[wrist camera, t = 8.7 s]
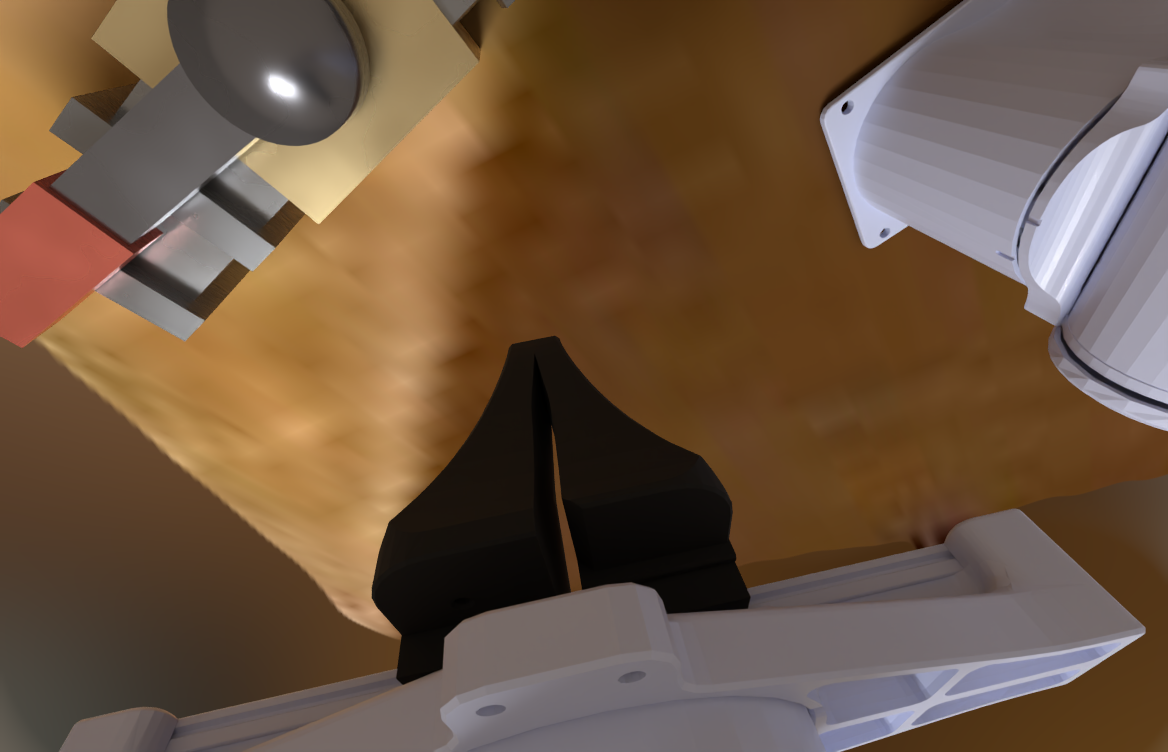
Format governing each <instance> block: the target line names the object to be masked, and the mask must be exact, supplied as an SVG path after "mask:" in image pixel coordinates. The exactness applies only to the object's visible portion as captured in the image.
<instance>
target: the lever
mask: <svg viewBox="0 0 1168 752" xmlns="http://www.w3.org/2000/svg"><path fill="white" fill-rule="evenodd" d="M167 21H168V28H169V34H170V38H171V41H172V45H173V48H174V50H175V53H176V55H177V58H178V60H179V62H180V63H179V64H178V65H177V66H176V67H175V68H174V69H173V70H172V71H171V72H170V73H169V74H168V75H167V76H166V77H165V78H163V79H162V80H161V81H160V82H159V83H158V84H157V85H156V86H155V87H154V88H153V89H152V90H151V91H150V92H149V93H148V94H147V95H145V96H144V97H143V98H142V99H141V100H140V101H139V102H138V103H137V104H136V105H135V106H134V107H133V108H132V109H131V110H130V111H129V112H128V113H126V114H125V115H124V116H123V117H122V118H121V119H120V120H119V121H118V122H117V123H116V124H115V125H114V126H113V127H112V128H111V129H110V130H108V131H107V132H106V133H105V134H104V135H103V136H102V137H101V138H100V139H99V140H98V141H97V142H96V143H95V144H94V145H93V146H92V147H91V148H89V149H88V150H87V151H86V152H85V153H84V154H83V155H82V156H81V157H80V158H79V159H78V160H77V161H76V162H75V163H74V164H73V165H72V166H70V167H69V168H68V169H67V170H64V171H62V172H59V173H56V174H54V175H51V176H49V177H46V178H43V179H41V180H38V181H36V182H33V183H32V184H31V185H30V186H29V187H28V188H27V189H26V190H25V191H24V192H23V193H22V194H21V195H20V196H19V197H18V198H17V199H16V200H15V201H13V202H12V203H11V204H10V205H9V206H8V207H7V208H6V209H5V210H4V211H3V212H2V213H1V214H0V336H1V337H3V338H4V339H6V340H8V341H10V342H12V343H14V344H16V345H18V346H20V347H22V348H23V347H24V346H26V345H27V344H28V343H30V342H31V341H33V340H34V339H35V338H37V337H38V336H39V335H41V334H42V333H43V332H45V331H46V330H48V329H49V328H50V327H52V326H53V325H54V324H56V323H57V322H58V321H60V320H61V319H62V318H63V317H64V316H66V315H67V314H68V313H69V312H70V311H72V310H73V309H74V308H75V307H76V306H78V305H79V304H80V303H81V302H82V301H84V300H85V299H86V298H87V297H88V296H89V295H91V294H92V293H93V292H94V291H95V290H97V289H98V288H99V287H100V286H101V285H103V284H104V283H105V282H106V281H107V280H108V279H110V278H111V277H112V276H113V275H114V274H116V273H117V272H118V271H119V270H120V269H122V268H123V267H124V266H125V265H126V264H128V263H129V262H130V261H131V260H132V259H133V258H135V257H136V256H137V255H138V254H139V253H141V252H142V251H143V250H144V249H145V248H147V247H148V246H149V245H150V244H151V243H152V242H154V241H155V240H156V239H157V238H158V237H160V236H161V235H162V234H163V232H162V231H160V230H159V229H158V228H157V226H158V225H159V224H161V223H162V222H163V221H164V220H165V219H166V218H168V217H169V216H170V215H171V214H172V213H174V212H175V211H176V210H177V209H178V208H179V207H181V206H182V205H183V204H184V203H185V202H186V201H188V200H189V199H190V198H191V197H192V196H194V195H195V194H196V193H197V192H198V191H199V190H201V189H202V188H203V187H204V186H205V185H207V184H208V183H209V182H210V181H211V180H212V179H214V178H215V177H216V176H217V175H218V174H219V173H221V172H222V171H223V170H224V169H225V168H227V167H228V166H229V165H230V164H231V163H232V162H234V161H235V160H236V159H237V158H238V157H239V156H241V155H242V154H243V153H244V152H245V151H247V150H248V149H249V148H250V147H251V146H252V145H254V144H255V143H256V142H257V141H258V140H260V139H261V140H264V141H267V142H271V143H274V144H279V145H286V146H303V145H310V144H313V143H317V142H320V141H322V140H324V139H326V138H328V137H329V136H330V135H332V134H333V133H335V132H336V131H337V130H338V129H340V128H341V127H342V126H343V125H344V124H346V123H347V122H348V121H349V120H350V119H351V118H353V117H354V116H355V115H356V113H357V112H358V111H359V109H360V108H361V106H362V104H363V102H364V100H365V98H366V95H367V92H368V87H369V79H370V67H369V58H368V53H367V49H366V46H365V42H364V39H363V37H362V34H361V32H360V29H359V27H358V25H357V23H356V22H355V20H354V18H353V16H352V15H351V13H350V12H349V10H348V9H347V7H346V6H345V4H344V3H343V2H342V1H341V0H168V4H167Z"/></svg>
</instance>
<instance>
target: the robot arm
mask: <svg viewBox="0 0 1168 752" xmlns="http://www.w3.org/2000/svg"><path fill="white" fill-rule="evenodd" d="M846 101H848V106H847V109H846V110H845V111H844V112H842V111H841V109H842V106H843V104H844V103H845V102H846ZM820 122H821V126H822V129H823V131H824V134H825V137H826V140H827V143H828V146H829V149H830V152H831V155H832V158H833V161H834V163H835V166H836V169H837V172H838V175H839V178H840V181H841V184H842V187H843V190H844V193H845V195H846V198H847V201H848V204H849V207H850V210H851V213H852V216H853V219H854V222H855V225H856V228H857V230H858V233H859V236H860V239H861V242H862V244H863V245H864V246H866V247H868V248H874V247H876V246H878V245H879V244H881V243H883V242H884V241H886V240H887V239H889V238H890V237H892V236H893V235H895V234H896V233H898V232H899V231H901V230H902V229H904V228H905V227H907V226H908V225H909V226H911V227H913V228H915V229H917V230H919V231H921V232H923V233H925V234H926V235H928V236H930V237H932V238H934V239H936V240H938V241H940V242H942V243H944V244H946V245H948V246H950V247H952V248H954V249H956V250H958V251H960V252H962V253H963V254H965V255H967V256H969V257H971V258H973V259H975V260H977V261H979V262H981V263H983V264H985V265H987V266H989V267H991V268H993V269H995V270H997V271H999V272H1000V273H1002V274H1004V275H1006V276H1008V277H1010V278H1012V279H1014V280H1016V281H1018V282H1020V283H1022V284H1024V285H1026V286H1027V287H1028V298H1027V300H1026V303H1025V306H1024V309H1026V310H1028V311H1030V312H1031V313H1033V314H1035V315H1037V316H1039V317H1040V318H1042V319H1044V320H1046V321H1047V322H1049V323H1051V324H1053V325H1055V327H1054V329H1053V330H1052V332H1051V335H1050V337H1049V343H1048V350H1049V354H1050V357H1051V360H1052V361H1053V363H1054V364H1055V366H1056V367H1057V369H1058V370H1059V371H1060V372H1061V373H1062V374H1063V375H1064V376H1065V377H1066V378H1067V379H1068V380H1069V381H1070V382H1071V383H1072V384H1074V385H1075V386H1076V387H1077V388H1079V389H1080V390H1081V391H1083V392H1084V393H1086V394H1087V395H1089V396H1091V397H1092V398H1094V399H1095V400H1097V401H1098V402H1100V403H1101V404H1103V405H1105V406H1106V407H1108V408H1110V409H1112V410H1114V411H1116V412H1118V413H1120V414H1122V415H1124V416H1127V417H1129V418H1131V419H1134V420H1136V421H1139V422H1142V423H1144V424H1147V425H1150V426H1153V427H1156V428H1159V429H1162V430H1166V431H1168V0H963V1H962V2H961V3H959V4H958V5H957V6H956V7H954V8H953V9H952V10H950V11H949V12H948V13H946V14H945V15H944V16H942V17H941V18H940V19H939V20H937V21H936V22H935V23H933V24H932V25H931V26H929V27H928V28H927V29H925V30H924V31H923V32H922V33H920V34H919V35H918V36H916V37H915V38H914V39H912V40H911V41H910V42H908V43H907V44H906V45H905V46H903V47H902V48H901V49H899V50H898V51H897V52H895V53H894V54H893V55H891V56H890V57H889V58H888V59H886V60H885V61H884V62H882V63H881V64H880V65H878V66H877V67H876V68H874V69H873V70H872V71H871V72H869V73H868V74H867V75H865V76H864V77H863V78H861V79H860V80H859V81H857V82H856V83H855V84H854V85H852V86H851V87H850V88H848V89H847V90H846V91H844V92H843V93H842V94H840V95H839V96H838V97H837V98H835V99H834V100H833V101H831V102H830V103H829V104H828V105H827V106H826V107H825V108H824V109H823V111H822V113H821V116H820ZM883 229H885V230H884V232H883V233H881V231H882V230H883ZM880 233H881V234H880ZM551 425H552V428H553V432H554V436H555V442H556V450H557V458H558V466H559V475H560V485H561V495H562V501H563V505H564V509H565V513H566V517H567V521H568V525H569V529H570V533H571V537H572V541H573V545H574V549H575V553H576V557H577V561H578V567H579V573H580V579H581V585H582V590H580V591H576V592H572V593H571V589H570V584H569V578H568V572H567V566H566V560H565V553H564V547H563V541H562V535H561V529H560V523H559V516H558V510H557V504H556V494H555V481H554V463H553V445H552V428H551ZM732 513H733V511H732V502H731V500H730V498H729V496H728V494H727V492H726V490H725V488H724V487H723V485H722V484H721V482H720V481H719V479H718V478H717V476H716V475H715V473H714V472H713V471H712V469H711V468H710V467H709V465H708V464H707V463H706V462H705V460H704V459H703V458H702V457H701V456H700V455H697V454H695V453H693V452H691V451H688V450H686V449H684V448H682V447H679V446H677V445H675V444H673V443H670V442H668V441H667V440H665V439H663V438H661V437H659V436H658V435H656V434H654V433H653V432H651V431H650V430H648V429H646V428H645V427H643V426H642V425H640V424H639V423H637V422H636V421H634V420H633V419H631V418H630V417H628V416H627V415H626V414H625V413H623V412H622V411H621V410H619V409H618V408H617V407H616V406H615V405H613V404H612V403H611V402H610V401H609V400H608V399H606V398H605V397H604V396H603V395H602V394H601V393H600V392H599V391H598V390H597V389H596V388H595V387H594V386H593V385H592V384H591V383H590V382H589V381H588V379H587V378H586V377H585V376H584V375H583V374H582V372H581V371H580V370H579V369H578V368H577V366H576V365H575V364H574V362H573V361H572V360H571V358H570V357H569V355H568V354H567V352H566V351H565V349H564V348H563V346H562V344H561V342H560V339H559V338H558V337H556V336H551V337H546V338H541V339H536V340H531V341H526V342H521V343H515V344H512V345H511V346H510V348H509V350H508V355H507V358H506V361H505V364H504V367H503V370H502V373H501V375H500V378H499V380H498V383H497V385H496V387H495V390H494V392H493V394H492V396H491V398H490V400H489V402H488V404H487V406H486V408H485V410H484V412H483V414H482V416H481V417H480V419H479V421H478V423H477V424H476V426H475V428H474V429H473V431H472V432H471V434H470V435H469V437H468V438H467V440H466V441H465V443H464V444H463V445H462V447H461V448H460V449H459V451H458V452H457V454H456V455H455V456H454V458H453V459H452V460H451V461H450V463H449V464H448V465H447V466H446V467H445V469H444V470H443V471H442V472H441V473H440V474H439V475H438V476H437V477H436V478H435V480H434V481H433V482H432V483H431V484H430V485H429V486H428V487H427V488H426V489H425V490H424V491H423V492H422V493H421V494H420V495H419V496H418V497H417V498H416V499H414V500H413V501H412V502H411V503H410V504H409V505H408V506H407V507H406V508H404V509H403V510H402V511H401V512H400V513H399V514H398V515H397V516H396V517H394V518H393V519H392V520H391V521H390V522H389V523H388V527H387V530H386V533H385V536H384V538H383V541H382V544H381V548H380V551H379V555H378V560H377V565H376V570H375V575H374V580H373V585H372V599H373V601H374V603H375V605H376V606H377V608H378V609H379V610H380V611H381V612H382V613H383V615H384V616H385V617H386V618H387V619H388V620H389V621H390V622H391V623H392V625H393V626H394V627H395V628H396V629H397V630H398V631H399V632H400V634H401V635H402V637H401V645H400V652H399V660H398V667H397V669H394V670H390V671H386V672H381V673H376V674H372V675H368V676H363V677H359V678H355V679H350V680H346V681H342V682H337V683H333V684H328V685H324V686H320V687H316V688H311V689H307V690H303V691H298V692H294V693H289V694H285V695H281V696H276V697H272V698H267V699H263V700H259V701H254V702H250V703H245V704H241V705H237V706H233V707H228V708H224V709H219V710H215V711H210V712H206V713H202V714H197V715H193V716H189V717H184V718H180V719H177V718H176V717H175V716H174V715H173V714H171V713H169V712H167V711H165V710H163V709H159V708H155V707H139V708H132V709H128V710H123V711H119V712H114V713H110V714H105V715H101V716H97V717H92V718H88V719H83V720H81V721H79V722H78V723H76V724H75V725H74V726H73V728H72V730H71V732H70V733H69V735H68V737H67V739H66V740H65V742H64V744H63V746H62V747H61V749H60V751H59V752H841V751H844V750H847V749H851V748H854V747H857V746H860V745H863V744H866V743H869V742H873V741H876V740H879V739H882V738H885V737H888V736H891V735H894V734H898V733H901V732H903V731H907V730H910V729H913V728H916V727H919V726H922V725H926V724H929V723H932V722H935V721H938V720H941V719H944V718H947V717H951V716H954V715H957V714H960V713H964V712H967V711H970V710H973V709H977V708H980V707H983V706H987V705H990V704H994V703H997V702H1001V701H1004V700H1008V699H1011V698H1015V697H1018V696H1022V695H1026V694H1030V693H1033V692H1037V691H1041V690H1045V689H1049V688H1053V687H1056V686H1060V685H1064V684H1067V683H1069V682H1071V681H1072V680H1074V679H1075V678H1077V677H1078V676H1080V675H1081V674H1083V673H1084V672H1086V671H1088V670H1089V669H1091V668H1092V667H1094V666H1095V665H1097V664H1099V663H1100V662H1102V661H1103V660H1105V659H1106V658H1108V657H1109V656H1111V655H1112V654H1114V653H1116V652H1117V651H1119V650H1120V649H1122V648H1123V647H1125V646H1126V645H1128V644H1130V643H1131V642H1133V641H1134V640H1136V639H1137V638H1139V637H1140V636H1142V635H1143V634H1145V627H1144V626H1143V625H1142V624H1141V623H1140V622H1139V621H1138V620H1137V619H1136V618H1135V617H1133V616H1132V615H1131V614H1130V613H1129V612H1128V611H1127V610H1126V609H1125V608H1124V607H1123V606H1122V605H1121V604H1120V603H1118V601H1116V600H1115V599H1114V598H1113V597H1112V596H1111V595H1110V594H1109V593H1108V592H1107V591H1106V590H1104V589H1103V587H1102V586H1100V585H1099V584H1098V583H1097V582H1096V581H1095V580H1094V579H1093V578H1092V577H1091V576H1090V575H1089V574H1088V573H1086V572H1085V571H1084V570H1083V569H1082V568H1081V567H1080V566H1079V565H1078V564H1077V563H1076V562H1075V561H1074V560H1073V559H1072V558H1071V557H1070V556H1069V555H1067V554H1066V553H1065V552H1064V551H1063V550H1062V549H1061V548H1060V547H1059V546H1058V545H1057V544H1056V543H1055V542H1054V541H1052V540H1051V539H1050V538H1049V537H1048V536H1047V535H1046V534H1045V533H1044V532H1043V531H1042V530H1041V529H1040V528H1039V527H1038V526H1037V525H1035V524H1034V523H1033V522H1032V521H1031V520H1030V519H1029V518H1028V517H1027V516H1026V515H1025V514H1024V513H1023V512H1022V511H1021V510H1019V509H1010V510H1006V511H1001V512H997V513H992V514H988V515H984V516H979V517H975V518H971V519H968V520H965V521H963V522H961V523H959V524H958V525H956V526H955V527H954V528H953V529H952V530H951V531H950V532H949V534H948V535H947V537H946V540H945V543H944V544H940V545H936V546H931V547H927V548H923V549H918V550H914V551H909V552H905V553H901V554H897V555H892V556H888V557H883V558H879V559H875V560H871V561H866V562H862V563H857V564H853V565H848V566H845V567H840V568H835V569H832V570H826V571H822V572H818V573H814V574H809V575H805V576H801V577H796V578H792V579H787V580H783V581H778V582H774V583H770V584H765V585H761V586H757V587H752V588H748V589H747V588H746V585H745V583H744V581H743V579H742V577H741V574H740V572H739V570H738V568H737V565H736V563H735V561H736V554H735V551H734V549H733V547H732V545H731V543H730V540H729V534H730V527H731V520H732Z"/></svg>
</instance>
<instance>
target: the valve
mask: <svg viewBox="0 0 1168 752" xmlns="http://www.w3.org/2000/svg"><path fill="white" fill-rule="evenodd" d="M341 1H342V2H343V3H344V4H345V6H346V7H347V9H348V10H349V12H350V13H351V15H352V16H353V18H354V20H355V22H356V23H357V25H358V27H359V29H360V32H361V34H362V37H363V39H364V42H365V46H366V49H367V53H368V58H369V67H370V79H369V87H368V92H367V95H366V98H365V100H364V102H363V104H362V106H361V108H360V109H359V111H358V112H357V113H356V115H355V116H354V117H353V118H351V119H350V120H349V121H348V122H347V123H346V124H344V125H343V126H342V127H341V128H340V129H338V130H337V131H336V132H335V133H333V134H332V135H330V136H329V137H328V138H326V139H324V140H322V141H320V142H317V143H313V144H310V145H303V146H286V145H279V144H274V143H271V142H267V141H264V140H261V139H260V140H258V141H257V142H256V143H255V144H254V145H252V146H251V147H250V148H249V149H248V150H247V151H245V152H244V153H243V154H242V155H241V156H239V157H238V158H237V159H236V160H235V161H234V162H232V163H231V164H230V165H229V166H228V167H227V168H225V169H224V170H223V171H222V172H221V173H219V174H218V175H217V176H216V177H215V178H214V179H212V180H211V181H210V182H209V183H208V184H207V185H205V186H204V187H203V188H202V189H201V190H199V191H198V192H197V193H196V194H195V195H194V196H192V197H191V198H190V199H189V200H188V201H186V202H185V203H184V204H183V205H182V206H181V207H179V208H178V209H177V210H176V211H175V212H174V213H172V214H171V215H170V216H169V217H168V218H166V219H165V220H164V221H163V222H162V223H161V224H159V225H158V226H157V228H158V229H159V230H160V231H162V232H163V234H162V235H161V236H160V237H158V238H157V239H156V240H155V241H154V242H152V243H151V244H150V245H149V246H148V247H147V248H145V249H144V250H143V251H142V252H141V253H139V254H138V255H137V256H136V257H135V258H133V259H132V260H131V261H130V262H129V263H128V264H126V265H125V266H124V267H123V268H122V269H120V270H119V271H118V272H117V273H116V274H114V275H113V276H112V277H111V278H110V279H108V280H107V281H106V282H105V283H104V284H103V285H101V286H100V287H99V288H98V289H97V290H95V291H96V292H98V293H100V294H101V295H103V296H105V297H107V298H109V299H110V300H112V301H114V302H116V303H118V304H119V305H121V306H123V307H125V308H127V309H128V310H130V311H132V312H134V313H135V314H137V315H139V316H141V317H143V318H144V319H146V320H148V321H150V322H152V323H153V324H155V325H157V326H159V327H160V328H162V329H164V330H166V331H168V332H169V333H171V334H173V335H175V336H177V337H178V338H180V339H182V340H184V341H186V340H187V339H188V338H189V337H190V335H191V334H192V333H193V332H194V331H195V330H196V329H197V328H198V327H199V326H200V325H201V324H202V323H203V322H204V321H205V320H206V319H207V318H208V317H209V315H210V314H211V313H212V312H213V311H214V310H215V309H216V308H217V307H218V305H219V304H220V303H221V302H222V301H223V300H224V299H225V298H226V297H227V295H228V294H229V293H230V292H231V291H232V290H233V289H234V288H235V287H236V285H237V284H238V283H239V282H240V281H241V280H242V279H243V278H244V277H245V275H246V274H247V273H248V272H249V271H250V270H251V271H253V270H254V269H255V268H256V267H257V266H258V265H259V264H260V263H261V262H262V261H263V260H264V259H265V258H266V257H267V256H268V255H269V254H270V253H271V252H272V251H273V250H274V249H275V248H276V247H277V245H278V244H279V243H280V242H281V241H282V240H283V239H284V237H285V236H286V235H287V234H288V233H289V232H290V231H291V229H292V228H293V227H294V226H295V225H296V224H297V223H298V221H299V220H300V219H301V218H302V217H303V216H304V215H305V214H307V215H308V216H309V217H310V218H312V219H313V220H314V221H315V222H316V223H318V224H320V223H321V222H322V221H323V220H324V219H325V218H326V217H327V216H328V214H329V213H330V212H331V211H332V210H333V209H334V208H335V207H336V206H337V205H338V204H339V203H340V202H341V201H342V200H343V199H344V198H345V197H346V196H347V195H348V194H349V193H350V192H351V191H352V190H353V189H354V188H355V187H356V186H357V185H358V184H359V183H360V182H361V181H362V180H363V179H364V178H365V177H366V176H367V175H368V174H369V173H370V172H371V171H372V170H373V169H374V168H375V167H376V166H377V165H378V164H379V163H380V162H381V161H382V160H383V159H384V158H385V157H386V156H387V155H388V154H389V153H390V152H391V151H392V150H393V149H394V148H395V147H396V146H397V145H398V144H399V143H400V142H401V141H402V140H403V138H404V137H405V136H406V135H407V134H408V133H409V132H410V131H411V130H412V129H413V128H414V127H415V126H416V125H417V124H418V123H419V122H420V121H421V120H422V119H423V118H424V117H425V116H426V115H427V114H428V113H429V112H430V111H431V110H432V109H433V108H434V107H435V106H436V105H437V104H438V103H439V102H440V101H441V100H442V99H443V98H444V97H445V96H446V95H447V94H448V93H449V92H450V91H451V90H452V89H453V88H454V87H455V86H456V85H457V84H458V83H459V82H460V81H461V80H462V79H463V78H464V77H465V76H466V75H467V74H468V73H469V72H470V71H471V70H472V69H473V68H474V67H475V66H476V65H477V64H478V62H479V59H480V51H481V50H480V48H479V47H478V45H477V44H476V43H475V41H474V40H473V39H472V37H471V36H470V35H469V33H468V32H467V31H466V29H465V28H464V27H463V25H462V24H461V23H460V20H461V19H462V18H463V17H464V16H465V15H466V14H467V13H468V12H469V11H470V10H471V9H472V8H473V7H474V5H475V4H476V3H477V2H478V1H479V0H341ZM514 1H515V0H497V2H498V3H499V4H500V6H501V7H502V8H508V7H509V6H510V5H511V4H512V3H513V2H514ZM167 4H168V0H117V1H116V2H115V4H114V5H113V7H112V8H111V10H110V11H109V13H108V14H107V16H106V17H105V19H104V20H103V22H102V23H101V25H100V26H99V28H98V29H97V31H96V32H95V34H94V35H93V37H92V38H91V39H92V40H94V41H95V42H96V43H97V44H98V45H100V46H101V47H102V48H103V49H105V50H106V51H107V52H108V53H109V54H111V55H112V56H113V57H114V58H116V59H117V60H118V61H119V62H121V63H122V64H123V65H124V66H125V67H127V68H128V69H129V70H130V71H132V72H133V73H134V74H135V75H136V76H138V77H139V78H140V81H139V82H138V83H136V84H131V85H127V86H122V87H117V88H113V89H108V90H103V91H99V92H94V93H89V94H85V95H80V96H75V97H72V98H71V99H70V101H69V102H68V104H67V105H66V107H65V108H64V110H63V111H62V112H61V114H60V115H59V117H58V118H57V120H56V121H55V123H54V124H53V126H52V127H51V129H50V130H49V131H50V132H52V133H53V134H54V135H56V136H57V137H59V138H60V139H62V140H63V141H65V142H66V143H67V144H69V145H70V146H72V147H73V148H75V149H76V150H78V151H79V152H80V153H82V154H84V153H85V152H86V151H87V150H88V149H89V148H91V147H92V146H93V145H94V144H95V143H96V142H97V141H98V140H99V139H100V138H101V137H102V136H103V135H104V134H105V133H106V132H107V131H108V130H110V129H111V128H112V127H113V126H114V125H115V124H116V123H117V122H118V121H119V120H120V119H121V118H122V117H123V116H124V115H125V114H126V113H128V112H129V111H130V110H131V109H132V108H133V107H134V106H135V105H136V104H137V103H138V102H139V101H140V100H141V99H142V98H143V97H144V96H145V95H147V94H148V93H149V92H150V91H151V90H152V89H153V88H154V87H155V86H156V85H157V84H158V83H159V82H160V81H161V80H162V79H163V78H165V77H166V76H167V75H168V74H169V73H170V72H171V71H172V70H173V69H174V68H175V67H176V66H177V65H178V64H179V63H180V62H179V60H178V58H177V55H176V53H175V50H174V48H173V45H172V41H171V38H170V34H169V28H168V21H167ZM23 192H24V191H23ZM23 192H20V193H18V194H15V195H13V196H10V197H8V198H5V199H3V200H1V202H0V214H1V213H2V212H3V211H4V210H5V209H6V208H7V207H8V206H9V205H10V204H11V203H12V202H13V201H15V200H16V199H17V198H18V197H19V196H20V195H21V194H22V193H23Z"/></svg>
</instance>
